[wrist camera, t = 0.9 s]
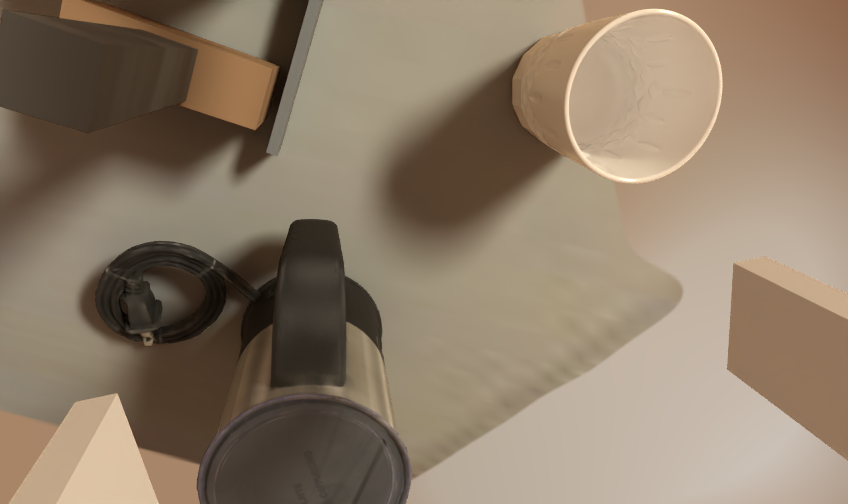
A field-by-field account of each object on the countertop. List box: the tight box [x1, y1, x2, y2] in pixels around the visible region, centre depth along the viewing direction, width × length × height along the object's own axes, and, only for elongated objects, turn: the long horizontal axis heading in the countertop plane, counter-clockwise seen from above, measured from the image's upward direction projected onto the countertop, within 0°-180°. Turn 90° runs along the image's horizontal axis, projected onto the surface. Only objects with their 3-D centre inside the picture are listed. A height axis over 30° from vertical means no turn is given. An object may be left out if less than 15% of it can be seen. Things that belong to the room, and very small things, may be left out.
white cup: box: [512, 9, 722, 184], centre depth 32 cm, size 8×8×10 cm
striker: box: [0, 0, 281, 133], centre depth 23 cm, size 9×3×18 cm, turn 70°
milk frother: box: [95, 219, 411, 504], centre depth 31 cm, size 14×16×15 cm
